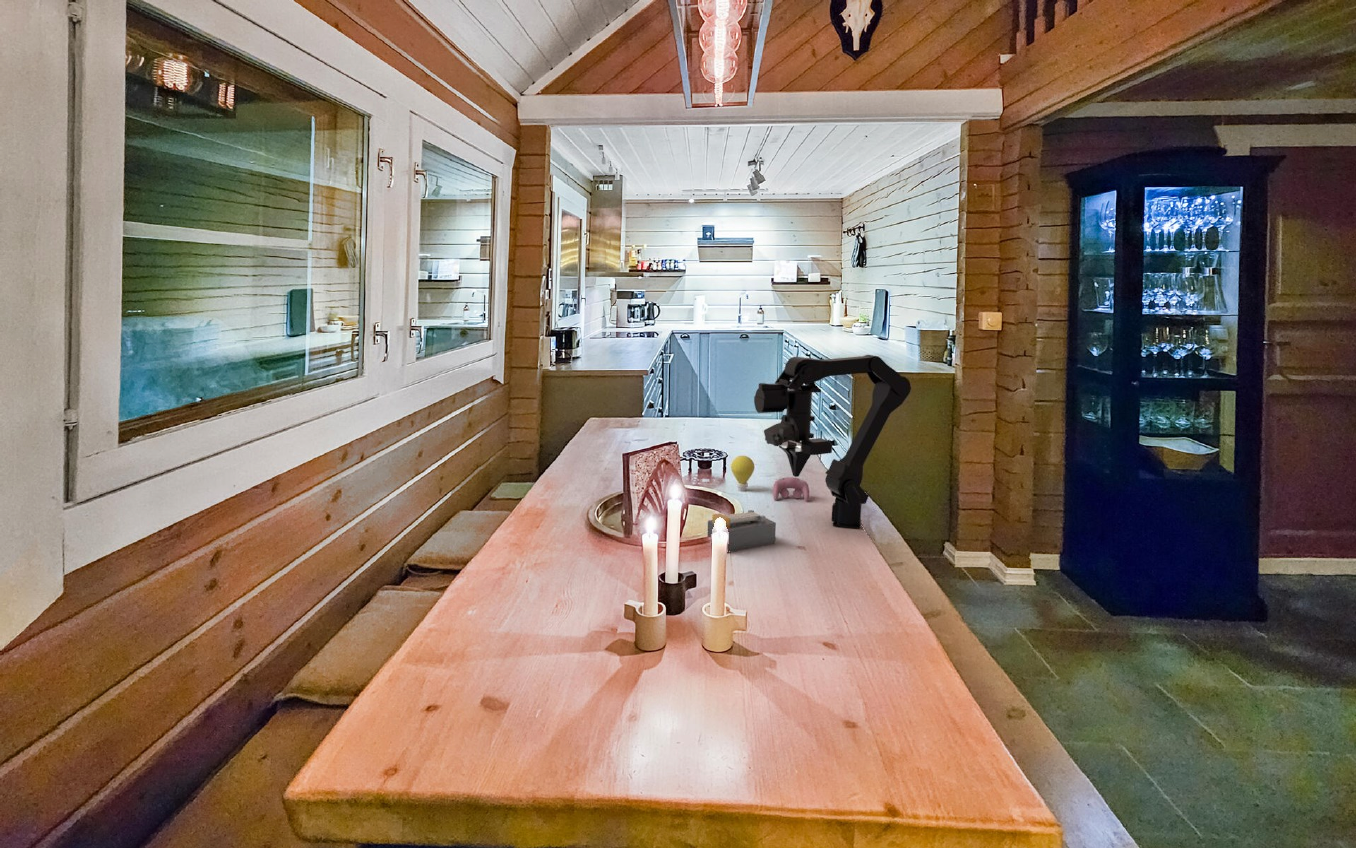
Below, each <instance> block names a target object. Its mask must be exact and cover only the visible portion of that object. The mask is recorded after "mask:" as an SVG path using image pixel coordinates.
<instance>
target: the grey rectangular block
mask: <svg viewBox="0 0 1356 848" xmlns="http://www.w3.org/2000/svg"><path fill="white" fill-rule="evenodd" d="M749 512H754V513H755V511H754V510H753V509H748V510H747V513H749ZM724 515H725V514H722V513H715V514H712V519H710V520H707V537H711V534H712V529H713V527H714V523H715V520H716V519H717V518H719V517H721V518H723V519H724V520H725V521H726V527H727V529H728V532H729V544H728V553H727V554H729V553H730V552H729V551H734V552H738V551H744V550H749V549H754V548H761V547H766V546H771V545H772V546H773V545H775V544H776V532H777V531H776V528H777V527H776V525H777V522H775V521H773V520H771V519H769V518H767V517H766V515H761V516H760V517H759V520H755V521H746V522H736V523H730V518H728V517H726V516H724Z"/></svg>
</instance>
